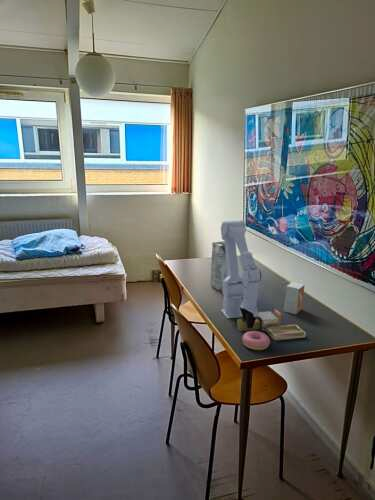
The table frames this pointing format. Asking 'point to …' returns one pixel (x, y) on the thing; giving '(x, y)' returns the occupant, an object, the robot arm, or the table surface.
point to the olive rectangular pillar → (243, 325)
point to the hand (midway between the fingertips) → (248, 325)
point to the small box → (294, 298)
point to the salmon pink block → (276, 316)
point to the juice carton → (218, 265)
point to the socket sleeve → (267, 320)
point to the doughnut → (256, 340)
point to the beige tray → (285, 332)
